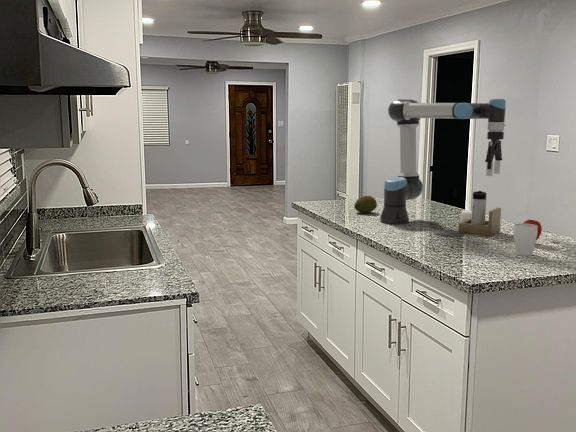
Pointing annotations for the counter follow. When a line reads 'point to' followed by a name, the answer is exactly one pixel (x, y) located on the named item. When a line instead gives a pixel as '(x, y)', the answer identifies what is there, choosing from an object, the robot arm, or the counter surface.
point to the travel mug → (478, 208)
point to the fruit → (365, 204)
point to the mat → (449, 233)
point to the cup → (525, 239)
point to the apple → (539, 228)
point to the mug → (466, 215)
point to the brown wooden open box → (483, 230)
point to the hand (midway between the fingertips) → (492, 174)
